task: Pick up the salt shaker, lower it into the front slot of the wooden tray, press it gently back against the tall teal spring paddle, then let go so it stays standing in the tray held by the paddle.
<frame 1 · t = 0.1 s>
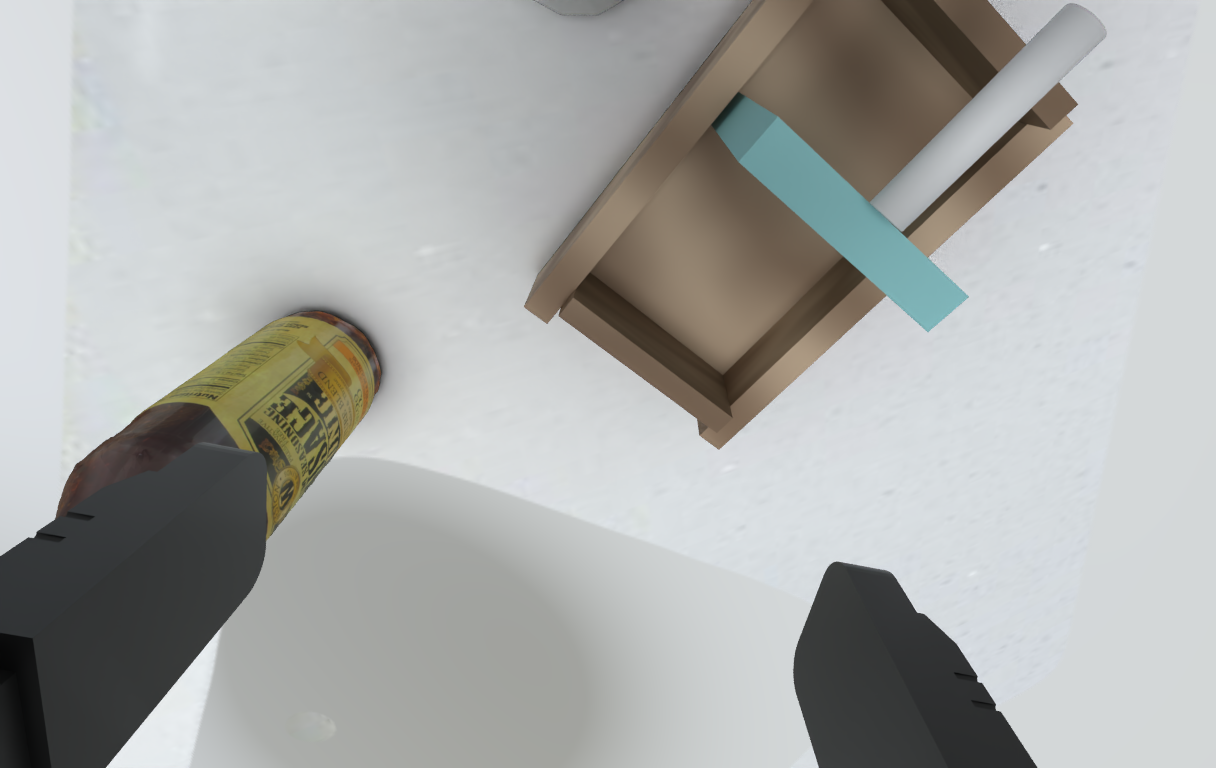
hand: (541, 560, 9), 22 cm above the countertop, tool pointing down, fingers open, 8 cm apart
wooden tray: (758, 199, 29), on the countertop
pusher paddle: (895, 127, 21), point 6 cm above the countertop, slide at 0.0 cm
sauce bottle: (328, 355, 33), on the countertop
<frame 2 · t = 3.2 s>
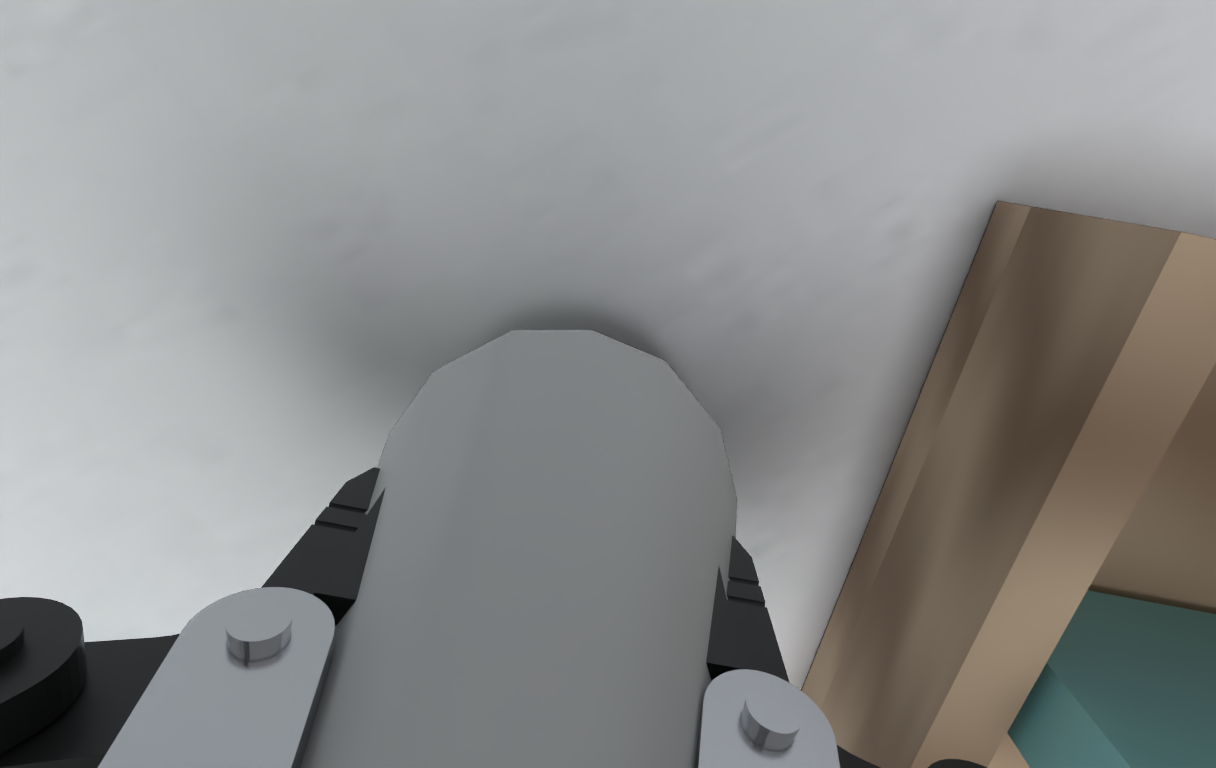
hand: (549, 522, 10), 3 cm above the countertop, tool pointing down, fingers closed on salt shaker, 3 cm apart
salt shaker: (570, 432, 13), on the countertop, touching gripper
wooden tray: (1067, 654, 15), on the countertop
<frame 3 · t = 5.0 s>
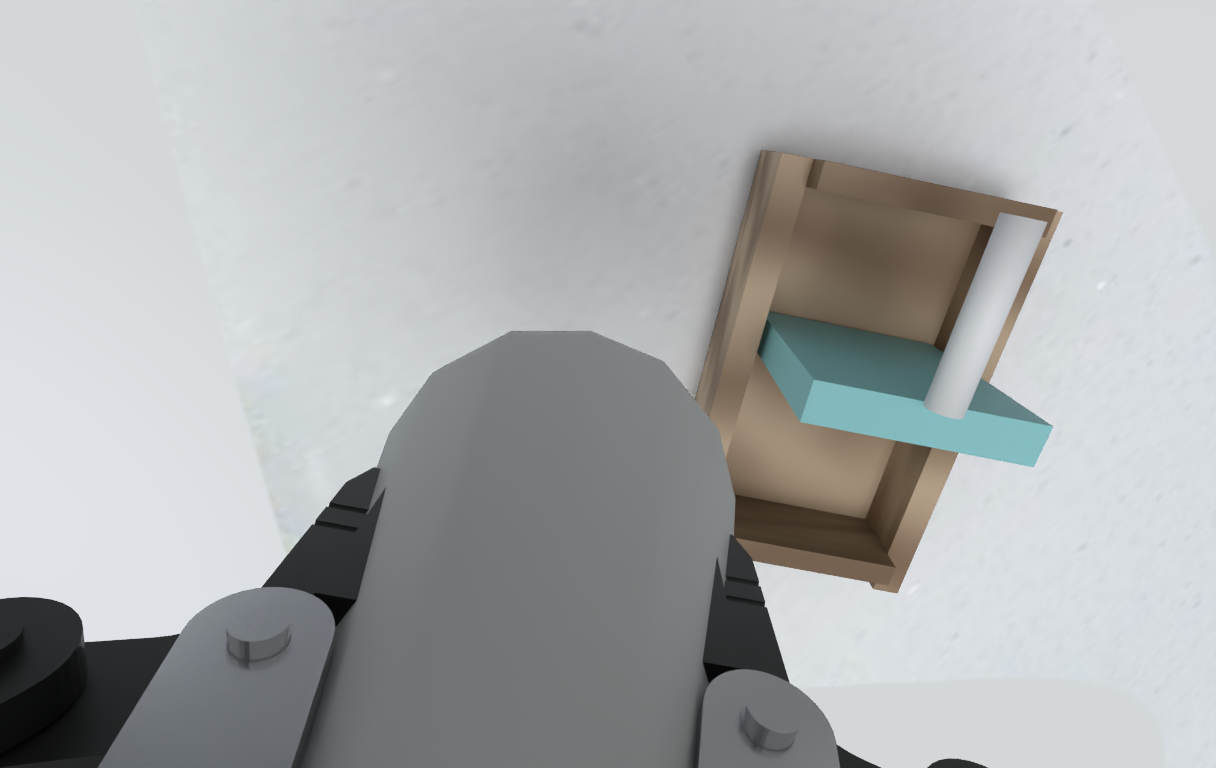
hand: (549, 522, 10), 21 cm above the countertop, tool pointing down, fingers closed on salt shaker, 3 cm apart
salt shaker: (569, 433, 13), point 18 cm above the countertop, touching gripper
wooden tray: (820, 368, 31), on the countertop
pusher paddle: (909, 306, 24), point 6 cm above the countertop, slide at 0.0 cm
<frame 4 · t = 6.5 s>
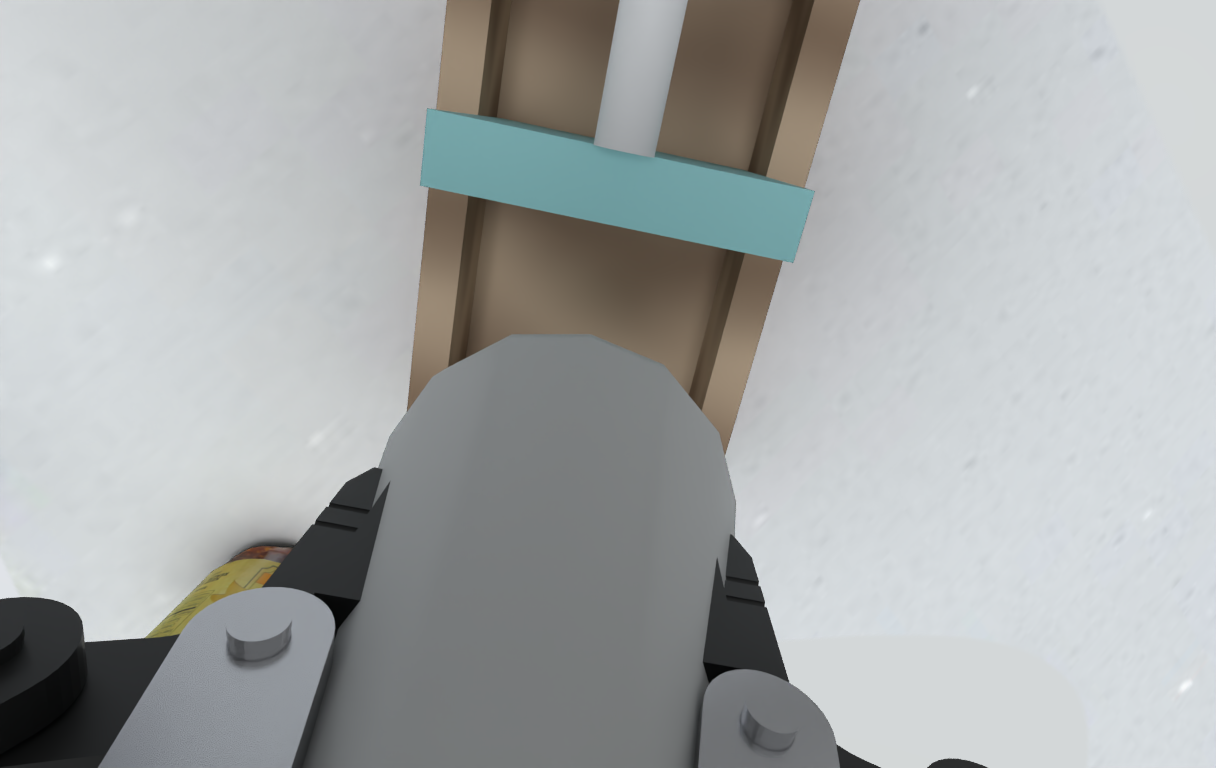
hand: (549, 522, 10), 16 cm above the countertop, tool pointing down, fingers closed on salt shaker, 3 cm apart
salt shaker: (569, 435, 13), point 12 cm above the countertop, touching gripper
wooden tray: (609, 215, 24), on the countertop
pusher paddle: (642, 51, 16), point 6 cm above the countertop, slide at 0.0 cm
sauce bottle: (287, 587, 30), on the countertop
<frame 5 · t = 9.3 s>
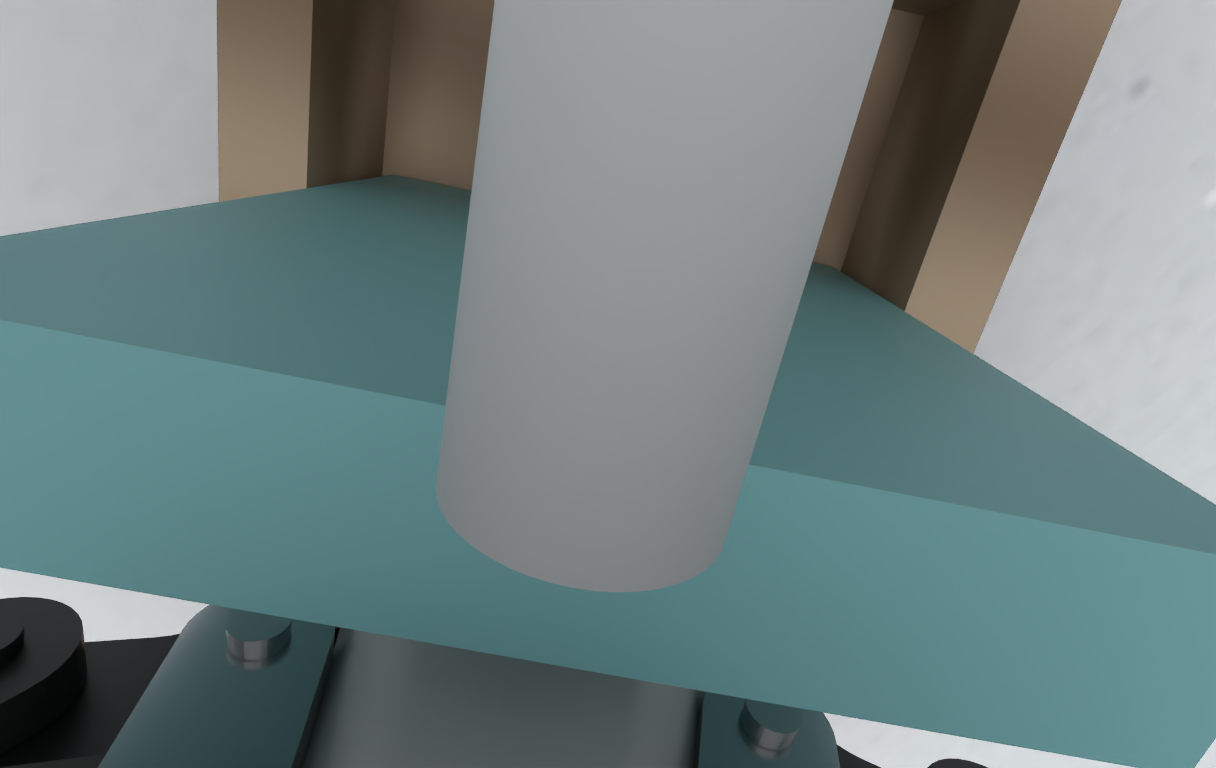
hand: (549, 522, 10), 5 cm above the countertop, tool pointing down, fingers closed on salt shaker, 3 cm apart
salt shaker: (569, 435, 13), point 1 cm above the countertop, touching gripper, pusher paddle
wooden tray: (581, 388, 14), on the countertop
pusher paddle: (656, 45, 6), point 6 cm above the countertop, slide at 1.3 cm, touching salt shaker
when the fingers open (5 cm above the countertop, at t = 10.1 s): salt shaker stays where it is, resting on wooden tray, pusher paddle.
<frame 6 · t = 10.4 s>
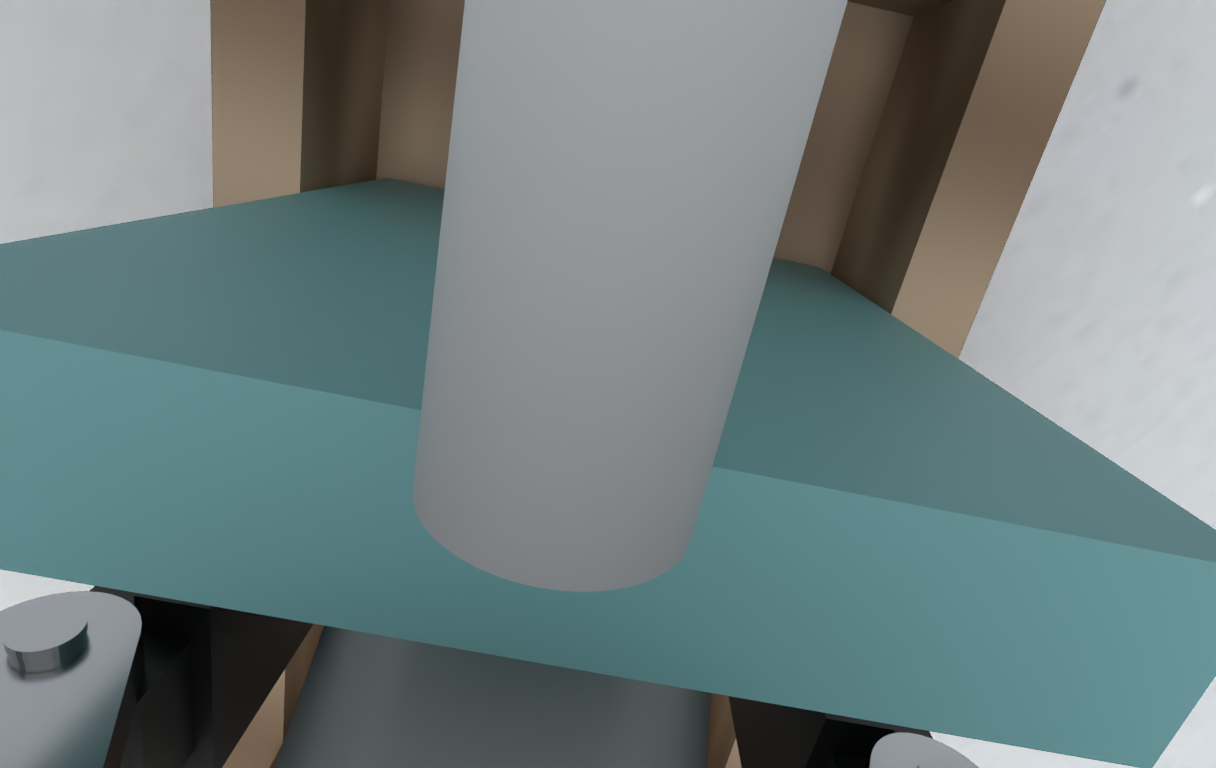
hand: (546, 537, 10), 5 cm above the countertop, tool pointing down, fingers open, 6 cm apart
salt shaker: (567, 429, 14), point 1 cm above the countertop, touching wooden tray, pusher paddle
wooden tray: (575, 387, 14), on the countertop
pusher paddle: (641, 54, 6), point 6 cm above the countertop, slide at 1.2 cm, touching salt shaker
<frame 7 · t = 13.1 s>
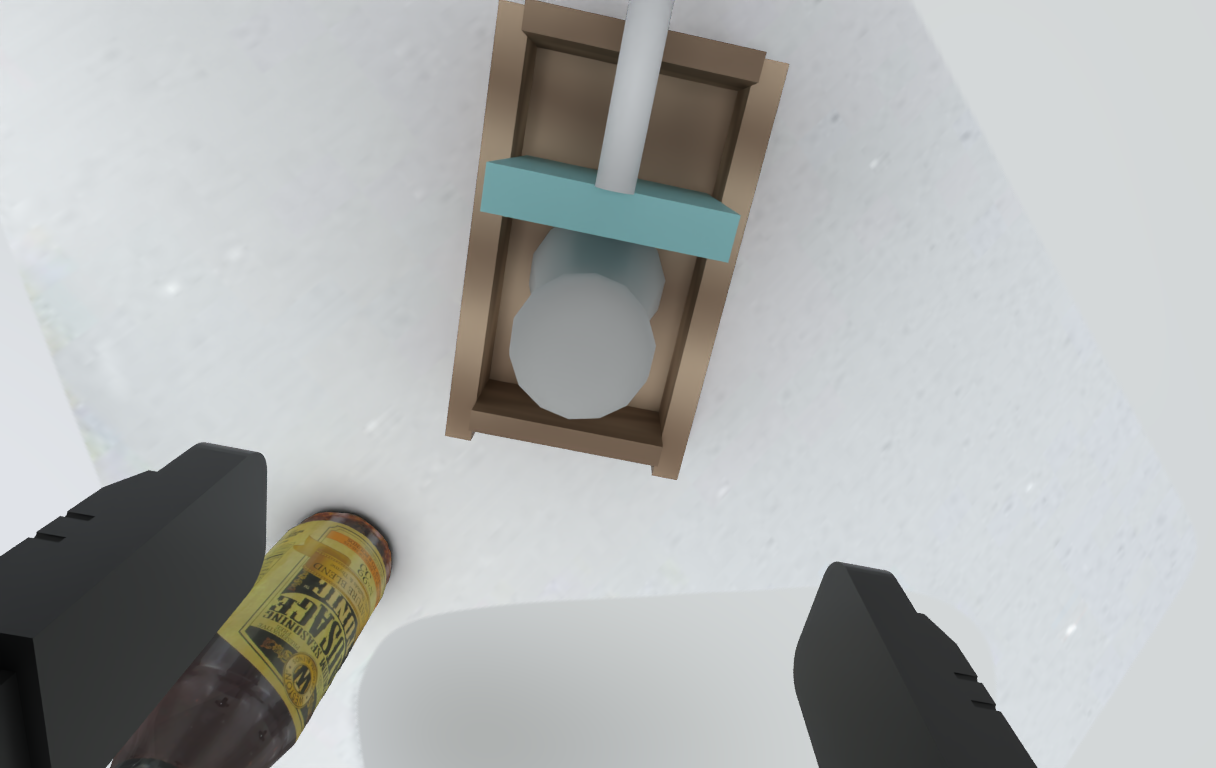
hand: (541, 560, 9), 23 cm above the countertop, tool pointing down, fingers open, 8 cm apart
salt shaker: (598, 270, 31), point 1 cm above the countertop, touching wooden tray, pusher paddle
wooden tray: (602, 253, 31), on the countertop
pusher paddle: (629, 115, 23), point 6 cm above the countertop, slide at 1.2 cm, touching salt shaker
sauce bottle: (343, 546, 38), on the countertop
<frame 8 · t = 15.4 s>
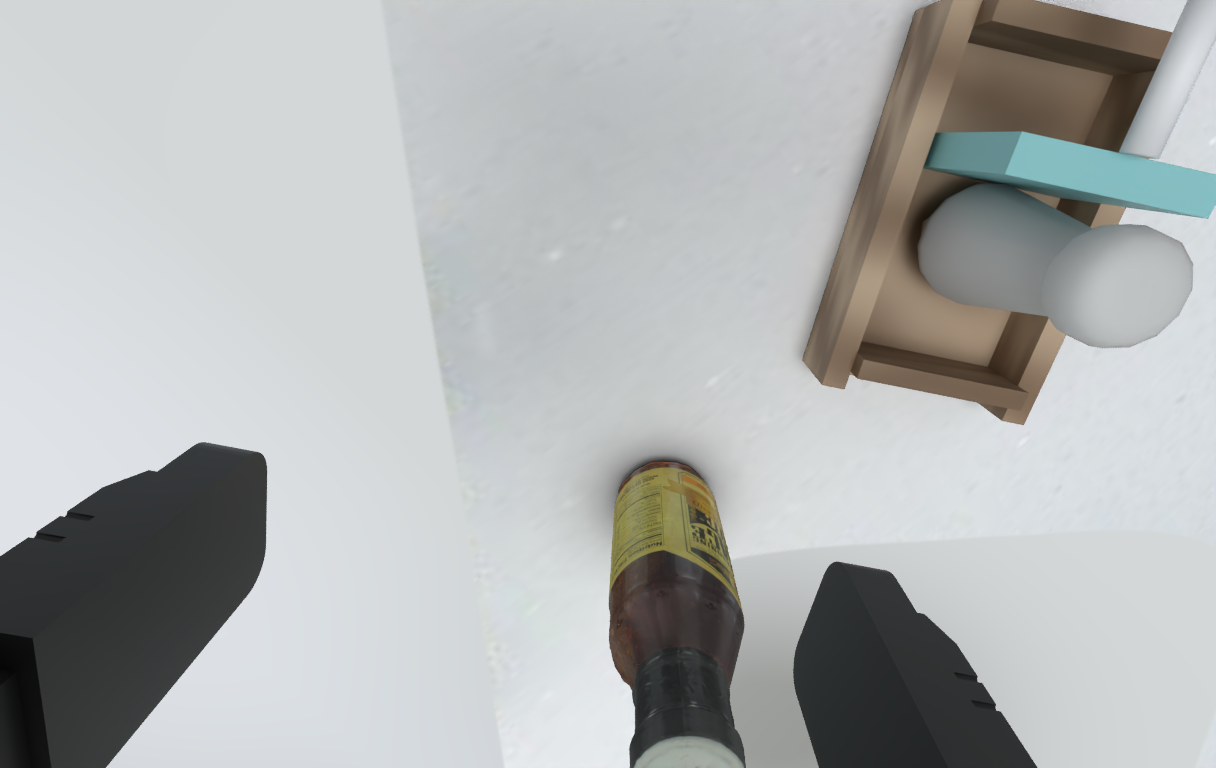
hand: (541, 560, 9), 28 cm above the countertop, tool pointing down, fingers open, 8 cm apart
salt shaker: (955, 237, 34), point 1 cm above the countertop, touching wooden tray, pusher paddle
wooden tray: (953, 222, 35), on the countertop
pusher paddle: (1083, 94, 27), point 6 cm above the countertop, slide at 1.2 cm, touching salt shaker
sauce bottle: (662, 494, 41), on the countertop
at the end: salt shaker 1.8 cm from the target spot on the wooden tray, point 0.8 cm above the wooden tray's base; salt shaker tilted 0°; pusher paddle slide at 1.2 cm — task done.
